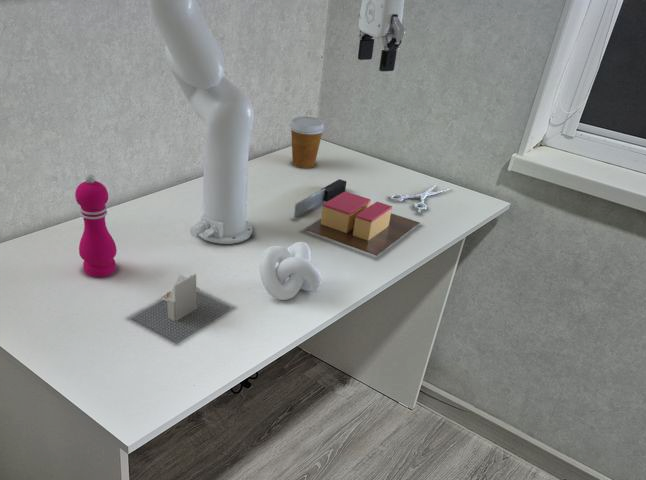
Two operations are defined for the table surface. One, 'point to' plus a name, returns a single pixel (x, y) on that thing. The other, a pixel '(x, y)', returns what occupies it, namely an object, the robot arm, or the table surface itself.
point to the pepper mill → (95, 229)
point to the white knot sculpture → (288, 271)
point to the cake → (343, 211)
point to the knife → (320, 196)
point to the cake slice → (372, 220)
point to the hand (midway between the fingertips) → (375, 64)
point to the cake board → (375, 244)
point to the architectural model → (181, 311)
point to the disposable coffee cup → (305, 140)
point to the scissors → (421, 196)
